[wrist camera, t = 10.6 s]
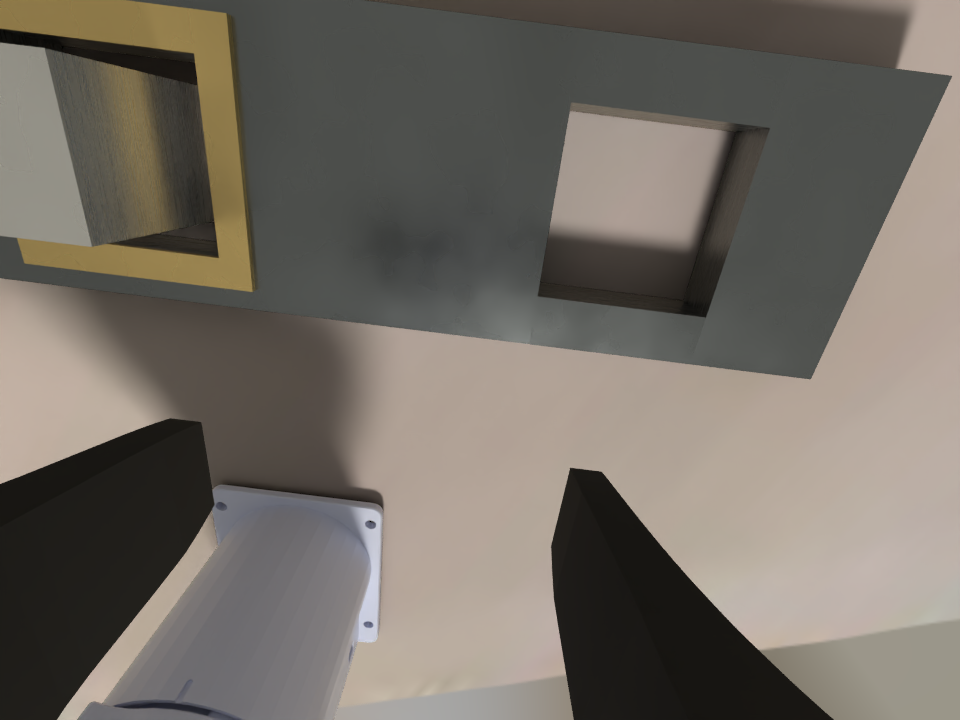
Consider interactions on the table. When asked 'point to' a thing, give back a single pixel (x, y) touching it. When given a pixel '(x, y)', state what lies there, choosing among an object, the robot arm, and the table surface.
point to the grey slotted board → (491, 173)
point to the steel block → (97, 150)
